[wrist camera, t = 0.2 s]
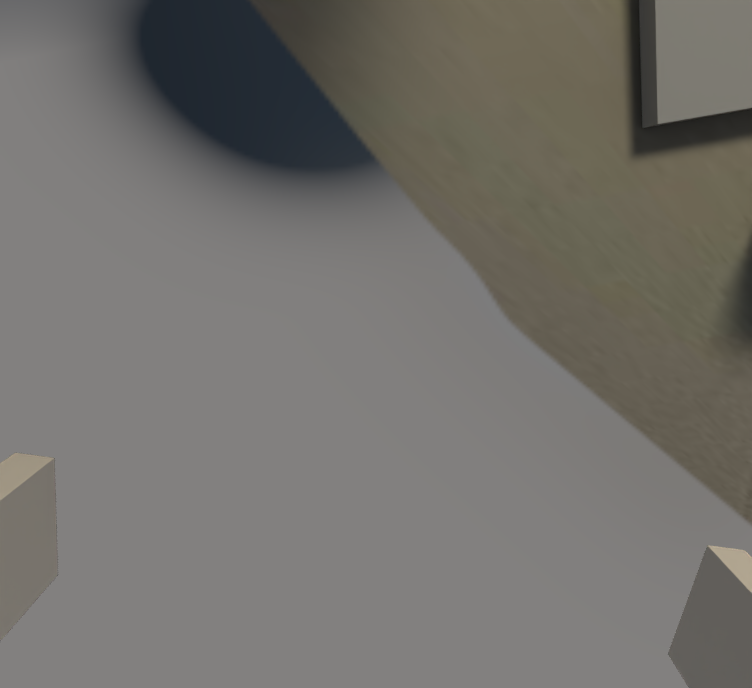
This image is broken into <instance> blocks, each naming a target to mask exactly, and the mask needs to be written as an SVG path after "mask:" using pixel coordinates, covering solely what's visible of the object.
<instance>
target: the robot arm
mask: <svg viewBox="0 0 752 688" xmlns="http://www.w3.org/2000/svg"><path fill="white" fill-rule="evenodd" d="M54 459H55V458H51V457H43V456H36V455H29V454H21V453H14V454H13V455H11V456H10V457H9V458H7V459H6V460H4V461H3V462H1V463H0V641H1V640H2V639H3V638H4V637H5V635H6V634H7V633H8V632H9V631H10V630H11V628H12V627H13V626H14V625H15V624H16V623H17V622H18V620H19V619H20V618H21V617H22V616H23V615H24V613H25V612H26V611H27V610H28V609H29V608H30V607H31V605H32V604H33V603H34V602H35V601H36V600H37V599H38V597H39V596H40V595H41V594H42V593H43V592H44V591H45V589H46V588H47V587H48V586H49V585H50V584H51V582H52V581H53V580H54V579H55V578H56V577H57V576H58V559H57V524H56V493H55V460H54ZM668 655H669V657H670V658H671V660H672V661H673V663H674V664H675V666H676V668H677V669H678V671H679V673H680V674H681V676H682V677H683V679H684V680H685V682H686V684H687V686H688V687H689V688H752V557H751V556H750V555H749V554H748V553H747V552H746V551H744V550H739V549H731V548H724V547H716V546H709V545H707V548H706V551H705V553H704V556H703V559H702V562H701V564H700V567H699V570H698V573H697V575H696V578H695V581H694V584H693V586H692V589H691V592H690V595H689V597H688V600H687V603H686V606H685V608H684V611H683V614H682V616H681V619H680V622H679V625H678V627H677V630H676V633H675V636H674V639H673V642H672V644H671V647H670V650H669V652H668Z"/></svg>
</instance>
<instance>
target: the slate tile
mask: <svg viewBox="0 0 752 688" xmlns="http://www.w3.org/2000/svg"><path fill="white" fill-rule="evenodd" d="M639 23H640V60H641V97H642V128H647V127H652V126H658V125H664V124H669V123H675V122H681V121H687V120H692V119H698V118H704V117H710V116H715V115H721V114H727V113H732V112H738V111H744V110H750V109H752V0H639Z"/></svg>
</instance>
